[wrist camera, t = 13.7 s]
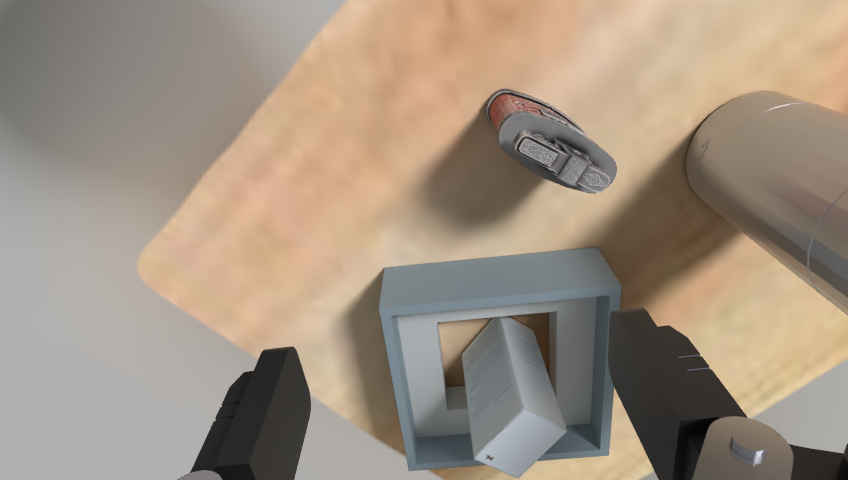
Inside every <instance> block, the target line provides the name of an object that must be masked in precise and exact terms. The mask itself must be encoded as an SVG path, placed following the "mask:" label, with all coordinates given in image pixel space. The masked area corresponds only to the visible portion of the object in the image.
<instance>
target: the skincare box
mask: <svg viewBox="0 0 848 480" xmlns="http://www.w3.org/2000/svg"><path fill="white" fill-rule="evenodd" d="M462 362H463V371H464V379H465V388H466V396H467V405H468V413H469V421H470V430H471V439H472V447H473V455H474V459H475V460H477V461H479V462H482V463H484V464H486V465H489V466H491V467H493V468H495V469H497V470H499V471H502V472H504V473H506V474H508V475H511V476H513V477H515V478H519V477H520V476H521V475H522V474H523V473H524V472H525V471H526V470H527V469H529V468H530V467H531V466H532V465H533V464H534V463H535V462H536V461H537V460H538V459H539V458H540V457H541V456H542V455H543V454H544V453H545V452H546V451H547V450H548V449H549V448H550V447H551V446H552V445H554V444H555V443H556V442H557V441H558V440H559V439H560V438H561V437H562V436H563V435H564V434H565V433H566V432H567V429H566V426H565V423H564V420H563V417H562V414H561V411H560V408H559V406H558V402H557V399H556V397H555V393H554V391H553V388H552V385H551V382H550V379H549V375H548V373H547V369H546V366H545V364H544V361H543V358H542V355H541V352H540V348H539V346H538V343H537V340H536V337H535V334H534V331H533V330H532V329H530V328H528V327H526V326H525V325H523V324H521V323H519V322H517V321H515V320H514V319H512V318H510V317H508V316H501V317H493V318H492V319H491V321H490V322H489V323H488V324H487V325H486V326H485V328H484V329H483V330H482V331H481V332H480V333H479V335H478V336H477V337H476V338H475V339H474V341H473V342H472V343H471V344H470V345H469V346H468V348H467V349H466V350H465V351H464V352H463V353H462Z"/></svg>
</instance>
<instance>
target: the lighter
mask: <svg viewBox="0 0 848 480" xmlns="http://www.w3.org/2000/svg"><path fill="white" fill-rule="evenodd" d="M486 115H487V118H488V120H489V121H490V122H491V124H492V125H494V126H495V128H496V130H497V138H498V141H499V144H500V146H501V148H502V149H503V150H504V151H505V152H506V153H507V154H509V155H510V156H511V157H512V158H514V159H515V160H516V161H518V162H519V163H520V164H521V165H523V166H524V167H526V168H528V169H529V170H531V171H533V172H534V173H536V174H538V175H540V176H541V177H543V178H545V179H547V180H550V181H552V182H555V183H557V184H560V185H562V186H565V187H568V188H571V189H575V190H579V191H583V192H586V193H601V192H603V191H604V190H605V189H606V188H607V187H608V186H609V185H610V184H611V183H612V182H613V180H614V178H615V176H616V172H617V166H616V162H615V161H614V159H613V158H612V157H611V156H610V155H609V154H608V153H606V152H605V151H604V150H603V149H602V148H600V147H599V146H598V145H597V144H596V143H594V142H593V141H592V140H591V139H589V138H587V137H586V133H585V132H584V131H583V129H581V128H580V127H579V126H578V125H577V124H576V123H575V122H573V121H572V120H571V119H570V118H569V117H567V116H566V115H565V114H564V113H562V112H560V111H559V110H557V109H556V108H554V107H553V106H551V105H549V104H548V103H546V102H543V101H541V100H539V99H536V98H534V97H532V96H530V95H527V94H523V93H520V92H517V91H513V90H510V89H500V90H497V91H496V92H494V93H493V94H492V95H491V96H490V98H489V99H488V101H487V104H486Z"/></svg>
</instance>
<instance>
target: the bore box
mask: <svg viewBox="0 0 848 480" xmlns="http://www.w3.org/2000/svg"><path fill="white" fill-rule="evenodd" d="M621 287H622V285H621V284H620V282H619V280H618V279H617V277H616V276H615V274H614V273H613V271H612V270H611V268H610V266H609V265H608V263H607V262H606V260H605V259H604V257H603V256H602V254H601V252H600V251H599V249H598V248H597V247H591V248H581V249H571V250H561V251H551V252H540V253H530V254H520V255H510V256H500V257H489V258H479V259H469V260H459V261H449V262H439V263H428V264H418V265H408V266H398V267H388V268H384V274H383V281H382V288H381V296H380V303H379V312H380V317H381V323H382V328H383V334H384V339H385V344H386V350H387V355H388V361H389V366H390V372H391V377H392V382H393V388H394V393H395V399H396V404H397V409H398V415H399V420H400V426H401V431H402V436H403V442H404V447H405V453H406V458H407V463H408V469H409V471H414V470H427V469H440V468H453V467H466V466H478V465H486V464H484V463H482V462H479V461H477V460H475V459H474V455H473V447H472V439H471V430H470V421H469V413H468V405H467V396H466V388H465V386H453V387H446V383H445V375H444V367H443V359H442V351H441V342H440V334H439V326H438V322H447V321H458V320H469V319H479V318H490V317H501V316H512V315H523V314H534V313H545V312H549V379H550V382H551V385H552V388H553V391H554V393H555V397H556V399H557V402H558V406H559V408H560V411H561V414H562V417H563V420H564V423H565V426H566V429H567V432H566V433H565V434H564V435H563V436H562V437H561V438H560V439H559V440H558V441H557V442H556V443H555V444H554V445H552V446H551V447H550V448H549V449H548V450H547V451H546V452H545V453H544V454H543V455H542V456H541V457H540V458H539V459H538V460H537V461H543V460H556V459H569V458H582V457H595V456H607V455H609V447H610V433H611V420H612V407H613V393H614V385H613V383H612V380H611V376H610V372H609V367H608V343H609V319H610V313H611V312H612V311H616V310H620V300H621Z"/></svg>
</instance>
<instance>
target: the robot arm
mask: <svg viewBox="0 0 848 480" xmlns="http://www.w3.org/2000/svg"><path fill="white" fill-rule="evenodd" d="M686 174H687V178H688V182H689V184H690V186H691V188H692V190H693V191H694V193H695V194H696V195H697V196H698V197H699V198H700V199H701V200H703V201H704V202H705V203H706V204H708V205H709V206H710V207H711V208H713V209H714V210H715V211H716V212H718V213H719V214H720V215H722V216H723V217H724V218H725V219H726V220H727V221H729V222H730V223H731V224H732V225H734V226H735V227H736V228H738V229H739V230H740V231H741V232H743V233H744V234H745V235H746V236H748V237H749V238H750V239H751V240H753V241H754V242H755V243H756V244H758V245H759V246H760V247H762V248H763V249H764V250H765V251H767V252H768V253H769V254H770V255H772V256H773V257H774V258H775V259H777V260H778V261H779V262H780V263H782V264H783V265H784V266H786V267H787V268H788V269H789V270H791V271H792V272H793V273H794V274H796V275H797V276H798V277H799V278H801V279H802V280H803V281H804V282H806V283H807V284H808V285H810V286H811V287H812V288H813V289H815V290H816V291H817V292H818V293H820V294H821V295H822V296H823V297H825V298H826V299H827V300H828V301H830V302H831V303H833V304H834V305H835V306H836V307H838V308H839V309H840V310H841V311H843V312H844V313H845V314H846V315H848V115H846V114H843V113H840V112H837V111H834V110H831V109H828V108H825V107H822V106H819V105H816V104H813V103H810V102H806V101H803V100H800V99H797V98H794V97H791V96H788V95H785V94H782V93H777V92H768V91H764V92H754V93H750V94H747V95H743V96H740V97H737V98H735V99H733V100H731V101H729V102H728V103H726V104H724V105H723V106H721V107H720V108H719V109H717V110H716V111H715V112H713V113H712V114H711V115H710V116H709V117H708V118H707V119H706V120H705V121H704V122H703V123H702V125H701V126H700V128H699V129H698V131H697V132H696V134H695V135H694V137H693V139H692V142H691V144H690V146H689V149H688V153H687V158H686ZM608 367H609V372H610V376H611V380H612V383H613V385H614V387H615V389H616V391H617V393H618V396H619V398H620V400H621V402H622V404H623V406H624V408H625V410H626V412H627V414H628V416H629V418H630V421H631V423H632V425H633V427H634V429H635V431H636V433H637V435H638V437H639V439H640V441H641V443H642V446H643V448H644V450H645V452H646V454H647V456H648V458H649V460H650V462H651V464H652V466H653V469H654V471H655V473H656V475H657V477H658V479H659V480H848V444H847V446H846V449H845V451H844V454H842V453H836V452H829V451H823V450H816V449H810V448H804V447H799V446H794V445H791V444H788V443H787V441H786V440H785V439H784V438H783V437H782V436H781V435H780V434H779V433H778V432H777V431H775V430H774V429H772V428H771V427H769V426H767V425H765V424H763V423H761V422H758V421H756V420H753V419H750V418H748V417H747V416H746V415H745V413H744V412H743V411H742V409H741V408H740V407H739V405H738V404H737V403H736V401H735V400H734V399H733V397H732V396H731V395H730V393H729V392H728V391H727V389H726V388H725V387H724V385H723V384H722V383H721V381H720V380H719V379H718V377H717V376H716V375H715V373H714V372H713V371H712V370H710V369H709V365H708V364H707V363H706V361H705V360H704V359H703V357H700V353H699V352H698V351H697V349H696V348H695V347H694V345H693V344H692V343H691V341H690V340H689V339H688V338H687V337H686V336H684V335H683V334H681V333H680V332H678V331H677V330H675V329H674V328H672V327H671V326H660V327H657V325H656V324H655V323H654V321H653V320H652V318H651V317H650V315H649V314H648V312H647V311H646V310H645V309H644V308H634V309H625V310H616V311H612V312H611V313H610V319H609V343H608ZM310 412H311V399H310V392H309V388H308V385H307V382H306V379H305V376H304V372H303V369H302V366H301V363H300V360H299V357H298V353H297V351H296V349H295V348H294V347H284V348H275V349H266V350H263V351H262V353H261V355H260V357H259V360H258V362H257V365H256V367H255V369H254V371H249V372H244V373H243V374H242V375H241V376H240V377H239V378H238V379H237V380H236V381H235V383H233V384H232V386H231V387H230V388H229V390H228V392H227V394H226V396H225V399H224V401H223V403H222V407H221V408H220V410H219V412H218V414H217V416H216V421H214V422H213V425H212V427H211V429H210V431H209V433H208V435H207V438H206V440H205V442H204V444H203V446H202V449H201V451H200V453H199V455H198V457H197V459H196V461H195V464H194V466H193V468H192V470H191V472H190V473H189V474H187V475H184V476H183V477H181V478H179V479H177V480H294V478H295V473H296V470H297V465H298V462H299V458H300V453H301V450H302V446H303V442H304V438H305V434H306V430H307V425H308V421H309V417H310Z"/></svg>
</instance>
